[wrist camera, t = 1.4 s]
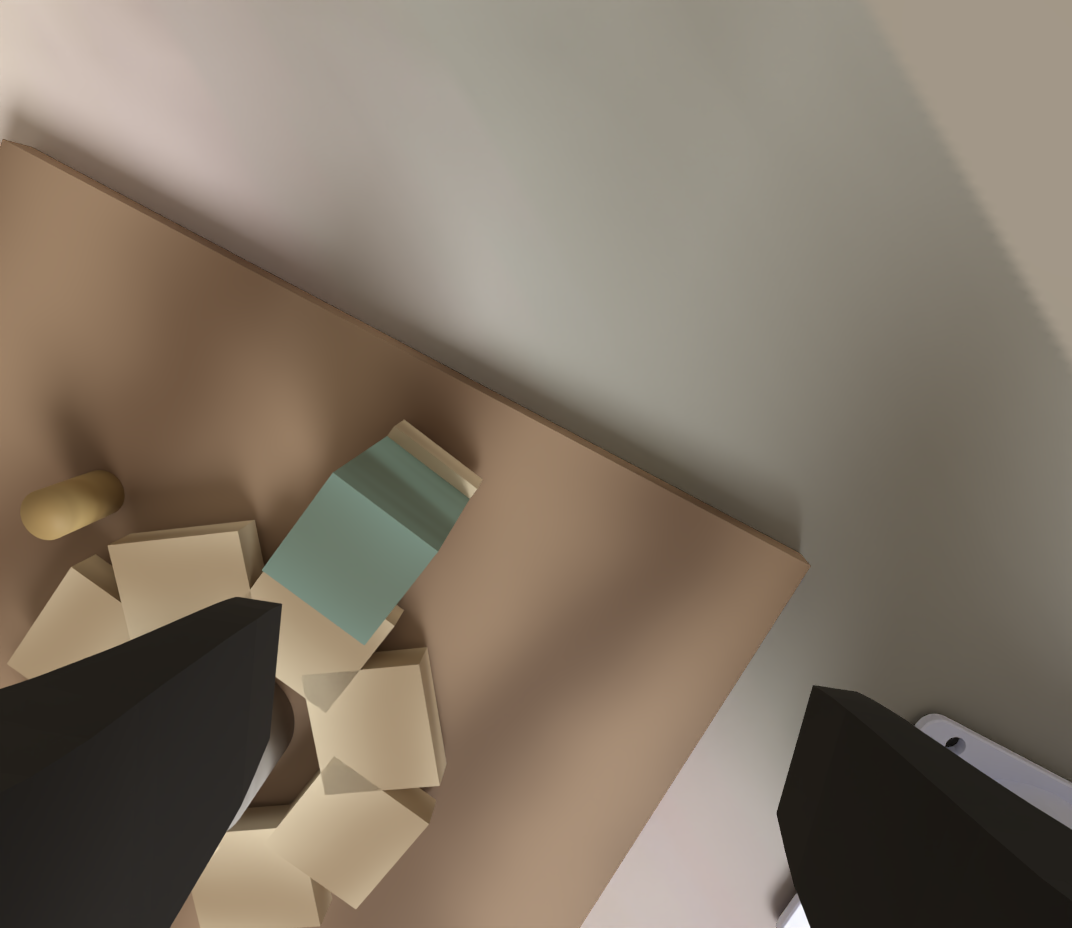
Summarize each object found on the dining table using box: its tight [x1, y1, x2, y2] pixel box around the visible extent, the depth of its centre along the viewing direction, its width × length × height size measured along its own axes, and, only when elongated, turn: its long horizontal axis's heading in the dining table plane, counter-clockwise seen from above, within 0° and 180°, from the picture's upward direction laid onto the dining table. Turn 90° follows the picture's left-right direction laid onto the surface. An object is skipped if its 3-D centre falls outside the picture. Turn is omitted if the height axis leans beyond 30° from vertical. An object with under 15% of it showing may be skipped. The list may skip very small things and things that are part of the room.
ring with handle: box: [7, 420, 483, 928], centre depth 18 cm, size 15×11×5 cm
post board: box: [0, 139, 810, 928], centre depth 21 cm, size 22×22×4 cm
